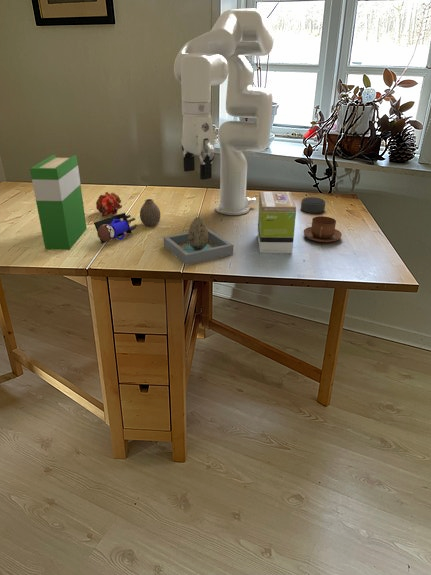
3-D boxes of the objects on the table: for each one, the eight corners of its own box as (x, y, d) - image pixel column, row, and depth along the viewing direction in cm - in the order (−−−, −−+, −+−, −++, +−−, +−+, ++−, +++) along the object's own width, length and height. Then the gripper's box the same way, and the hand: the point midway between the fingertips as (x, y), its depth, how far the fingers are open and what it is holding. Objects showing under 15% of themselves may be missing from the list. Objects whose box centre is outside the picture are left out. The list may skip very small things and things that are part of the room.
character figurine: (141, 235, 143) (105, 250, 132) (126, 228, 146) (90, 242, 136) (141, 212, 139) (104, 226, 128) (125, 206, 142) (87, 219, 132)
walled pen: (207, 237, 141) (207, 228, 139) (233, 254, 129) (233, 244, 128) (163, 246, 134) (163, 237, 133) (186, 265, 122) (186, 255, 121)
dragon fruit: (119, 212, 166) (106, 228, 156) (100, 199, 164) (85, 213, 155) (129, 197, 161) (116, 211, 151) (109, 182, 159) (95, 196, 150)
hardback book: (64, 228, 146) (52, 154, 135) (86, 228, 146) (76, 155, 135) (45, 249, 131) (29, 168, 120) (69, 249, 131) (56, 168, 119)
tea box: (256, 234, 143) (258, 190, 136) (287, 235, 143) (291, 190, 136) (258, 253, 130) (261, 205, 123) (292, 254, 130) (297, 206, 123)
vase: (157, 229, 147) (155, 203, 143) (137, 227, 148) (135, 202, 144) (163, 222, 153) (162, 197, 149) (144, 220, 154) (142, 196, 150)
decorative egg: (203, 254, 128) (204, 222, 123) (185, 251, 130) (184, 219, 125) (211, 247, 133) (211, 215, 128) (192, 244, 135) (192, 212, 130)
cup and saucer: (344, 245, 136) (347, 227, 133) (306, 245, 136) (308, 226, 133) (336, 231, 147) (338, 214, 144) (300, 231, 147) (302, 213, 144)
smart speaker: (322, 215, 161) (324, 204, 159) (298, 212, 164) (299, 202, 162) (325, 208, 169) (327, 198, 167) (302, 205, 171) (303, 195, 169)
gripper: (226, 111, 109) (224, 180, 117) (193, 104, 122) (194, 166, 130) (199, 113, 105) (200, 184, 114) (169, 106, 118) (171, 169, 127)
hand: (197, 174), depth 122 cm, fingers open, 9 cm apart
